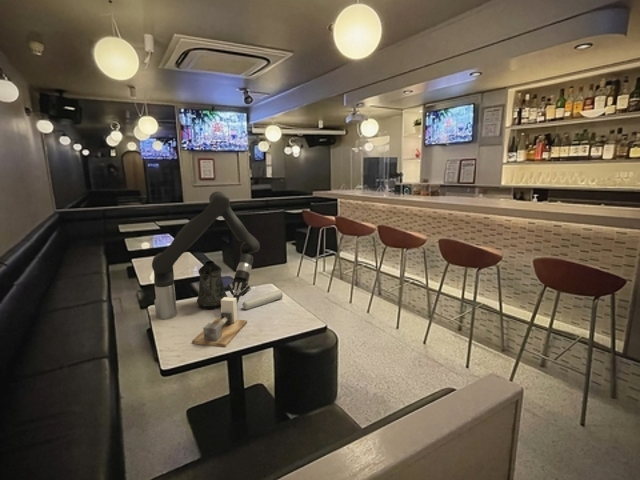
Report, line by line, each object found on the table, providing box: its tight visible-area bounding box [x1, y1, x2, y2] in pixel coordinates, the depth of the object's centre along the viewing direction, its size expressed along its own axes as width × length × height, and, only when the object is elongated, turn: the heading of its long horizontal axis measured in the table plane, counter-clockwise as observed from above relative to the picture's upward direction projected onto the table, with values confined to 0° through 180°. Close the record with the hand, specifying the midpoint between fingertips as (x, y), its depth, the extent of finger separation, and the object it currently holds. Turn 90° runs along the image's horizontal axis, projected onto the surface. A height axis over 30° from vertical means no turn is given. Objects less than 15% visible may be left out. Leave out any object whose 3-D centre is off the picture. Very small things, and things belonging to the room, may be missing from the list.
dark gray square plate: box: [220, 313, 232, 324], centre depth 172 cm, size 5×1×5 cm, turn 79°
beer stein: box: [196, 260, 228, 311], centre depth 196 cm, size 16×19×25 cm
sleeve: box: [220, 296, 239, 322], centre depth 175 cm, size 6×4×11 cm, turn 79°
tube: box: [241, 289, 284, 311], centre depth 201 cm, size 5×5×25 cm
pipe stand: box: [191, 316, 248, 348], centre depth 166 cm, size 16×24×7 cm, turn 169°
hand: (234, 302), depth 181 cm, fingers closed
